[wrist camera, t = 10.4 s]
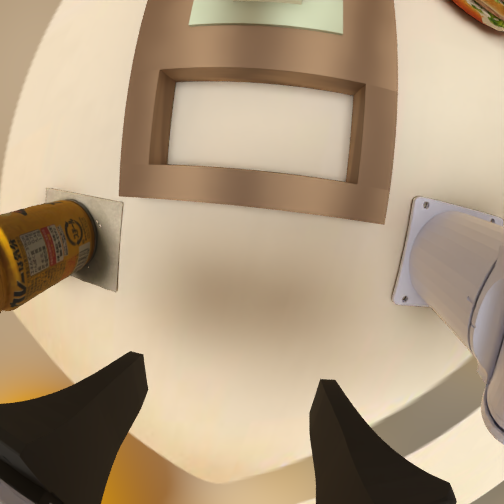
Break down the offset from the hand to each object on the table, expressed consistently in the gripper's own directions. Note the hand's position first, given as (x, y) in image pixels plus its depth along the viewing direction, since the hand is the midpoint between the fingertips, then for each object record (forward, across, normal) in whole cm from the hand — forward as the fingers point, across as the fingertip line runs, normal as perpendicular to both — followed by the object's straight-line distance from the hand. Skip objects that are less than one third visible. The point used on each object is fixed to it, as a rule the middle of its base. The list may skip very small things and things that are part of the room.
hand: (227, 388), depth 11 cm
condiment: (+11, +14, -2) cm, 18 cm away
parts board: (+10, 0, -16) cm, 19 cm away
